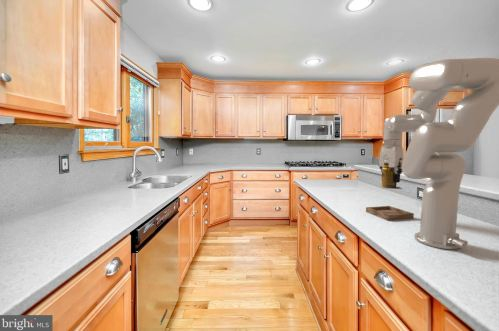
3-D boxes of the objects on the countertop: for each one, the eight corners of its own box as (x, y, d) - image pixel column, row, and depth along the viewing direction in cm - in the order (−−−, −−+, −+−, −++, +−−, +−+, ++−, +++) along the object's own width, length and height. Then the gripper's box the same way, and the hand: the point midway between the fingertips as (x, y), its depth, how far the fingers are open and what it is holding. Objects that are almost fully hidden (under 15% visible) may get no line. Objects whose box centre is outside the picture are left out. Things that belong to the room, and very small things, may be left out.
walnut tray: (413, 218, 106) (413, 213, 105) (388, 220, 103) (388, 215, 102) (388, 210, 119) (389, 205, 119) (365, 211, 116) (366, 207, 116)
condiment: (379, 185, 114) (380, 162, 113) (399, 187, 111) (400, 162, 110) (382, 188, 107) (383, 163, 106) (403, 189, 104) (405, 163, 103)
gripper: (372, 143, 116) (370, 179, 117) (401, 143, 99) (399, 184, 100) (384, 144, 117) (382, 178, 119) (415, 143, 100) (413, 183, 102)
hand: (390, 180), depth 109 cm, fingers closed on condiment, 6 cm apart
